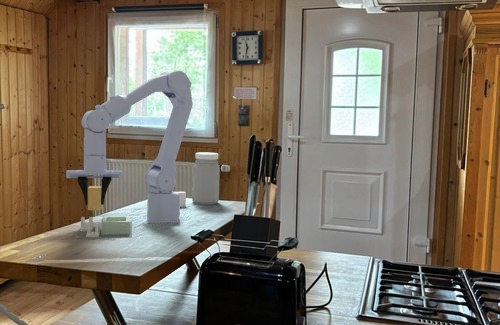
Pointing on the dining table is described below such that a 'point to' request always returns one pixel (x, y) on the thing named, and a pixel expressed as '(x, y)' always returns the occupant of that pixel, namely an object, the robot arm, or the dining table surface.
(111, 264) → the dining table surface
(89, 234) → the cable clip
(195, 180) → the jar
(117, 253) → the dining table surface
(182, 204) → the napkin holder
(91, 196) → the connector plug
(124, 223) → the end holder
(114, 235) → the mat
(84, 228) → the cable clip
